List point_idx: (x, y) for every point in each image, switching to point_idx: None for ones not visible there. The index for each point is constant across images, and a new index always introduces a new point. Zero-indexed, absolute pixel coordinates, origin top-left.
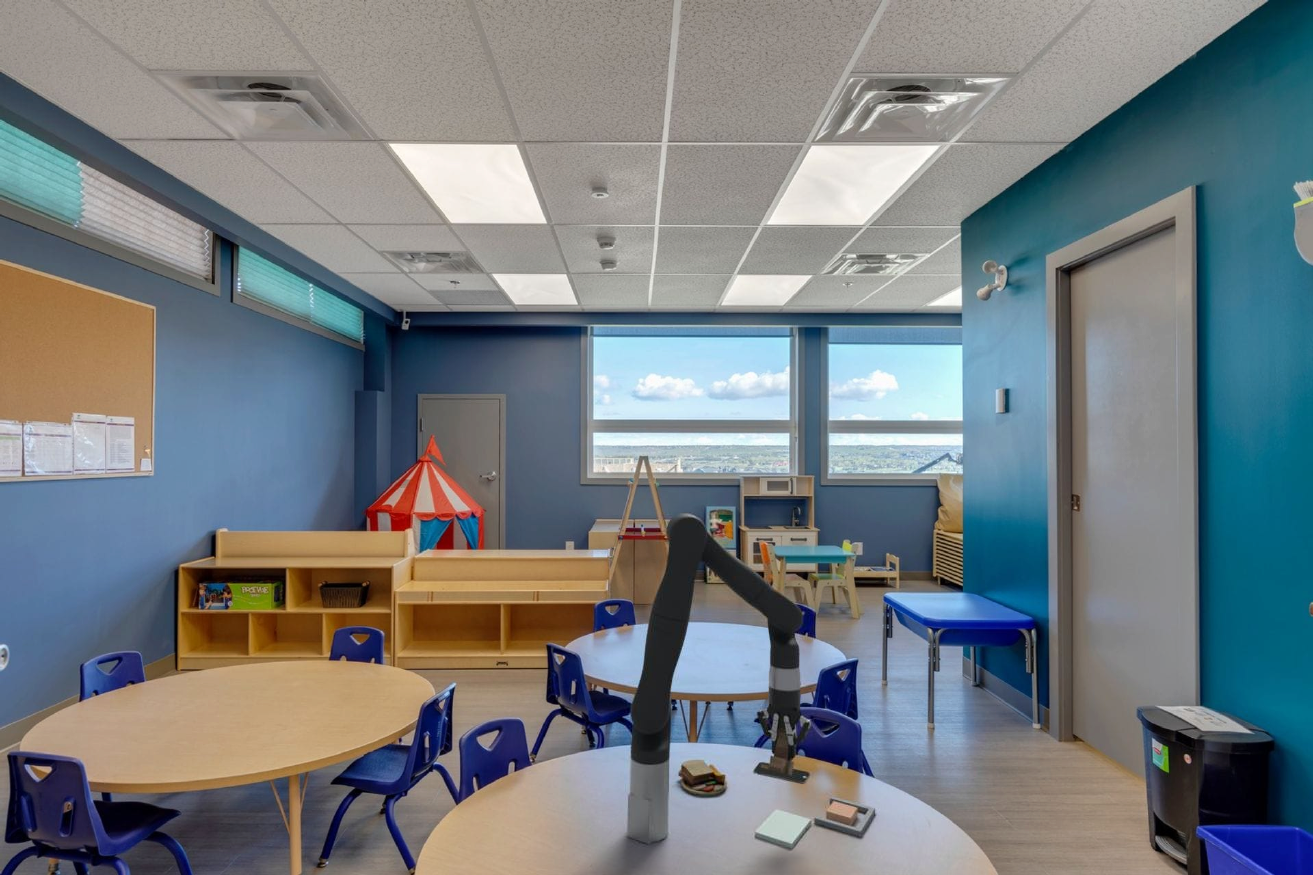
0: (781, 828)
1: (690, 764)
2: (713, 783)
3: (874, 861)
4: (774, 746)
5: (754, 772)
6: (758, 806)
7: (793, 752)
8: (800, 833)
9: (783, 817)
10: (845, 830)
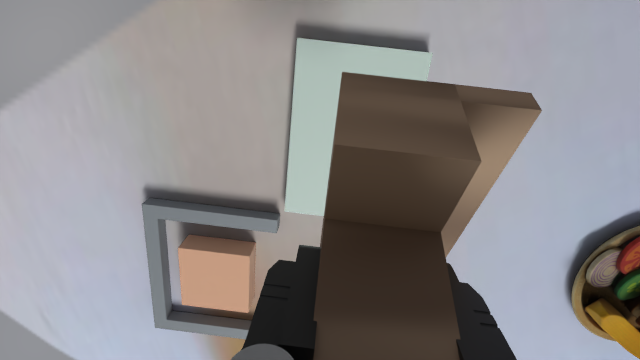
0: None
1: None
2: (623, 281)
3: (71, 89)
4: (473, 323)
5: None
6: None
7: (265, 297)
8: (291, 122)
9: None
10: (188, 204)
